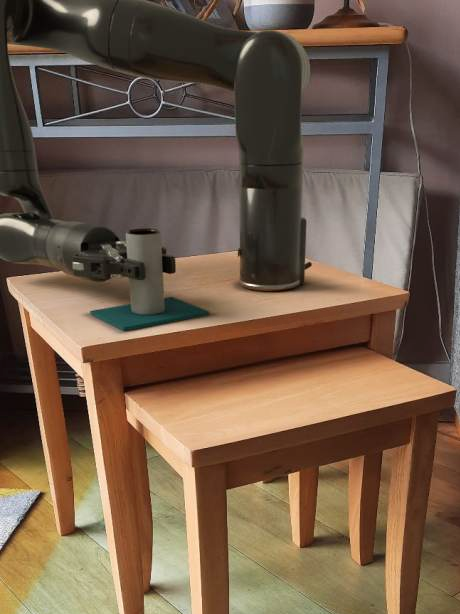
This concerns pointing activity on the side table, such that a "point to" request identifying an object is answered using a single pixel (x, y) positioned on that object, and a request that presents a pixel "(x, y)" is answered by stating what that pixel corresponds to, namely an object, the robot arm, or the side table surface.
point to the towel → (129, 320)
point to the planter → (146, 271)
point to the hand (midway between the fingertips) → (158, 268)
